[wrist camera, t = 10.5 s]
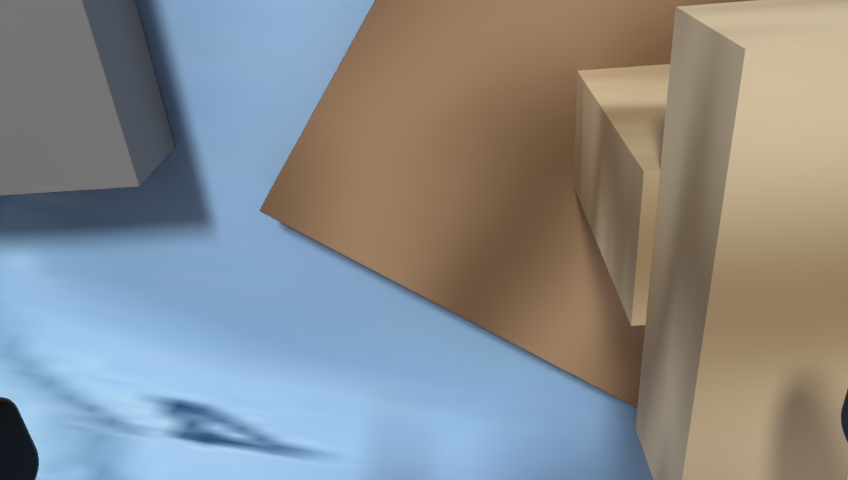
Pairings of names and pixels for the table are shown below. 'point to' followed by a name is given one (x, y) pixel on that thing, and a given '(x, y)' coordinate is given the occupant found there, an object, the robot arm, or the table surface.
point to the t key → (730, 236)
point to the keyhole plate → (77, 97)
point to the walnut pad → (478, 167)
